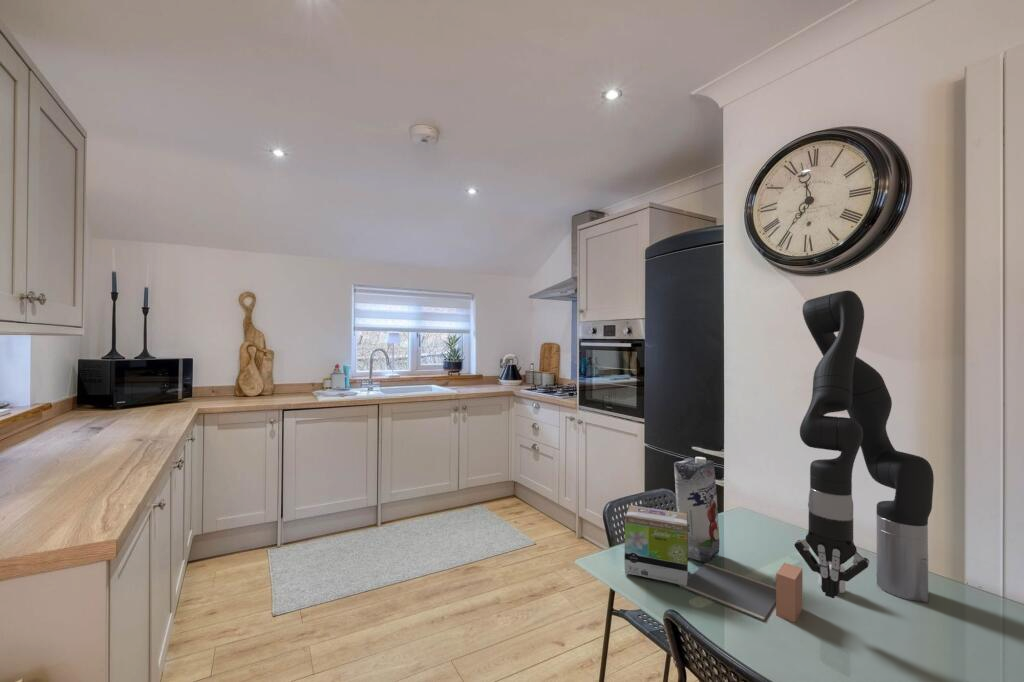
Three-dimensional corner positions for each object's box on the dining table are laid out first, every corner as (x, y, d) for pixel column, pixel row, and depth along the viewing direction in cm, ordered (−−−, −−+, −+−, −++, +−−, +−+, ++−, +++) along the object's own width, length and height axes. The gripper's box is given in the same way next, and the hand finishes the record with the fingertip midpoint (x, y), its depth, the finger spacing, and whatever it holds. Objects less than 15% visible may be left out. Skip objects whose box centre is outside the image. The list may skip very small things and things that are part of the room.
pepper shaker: (846, 594, 101) (846, 553, 102) (830, 594, 101) (830, 554, 101) (832, 584, 105) (832, 546, 106) (817, 585, 105) (817, 546, 105)
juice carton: (675, 555, 119) (669, 457, 121) (692, 544, 126) (686, 452, 128) (707, 565, 113) (700, 461, 115) (723, 553, 120) (717, 455, 122)
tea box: (623, 575, 108) (623, 515, 109) (628, 558, 117) (628, 503, 118) (688, 587, 102) (687, 524, 103) (687, 569, 111) (687, 511, 112)
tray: (782, 592, 102) (782, 589, 102) (763, 621, 91) (763, 619, 91) (705, 564, 115) (705, 562, 115) (679, 587, 103) (679, 585, 103)
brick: (802, 608, 95) (802, 568, 96) (795, 622, 90) (795, 579, 91) (784, 602, 98) (784, 562, 98) (776, 615, 93) (776, 573, 93)
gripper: (873, 516, 87) (873, 602, 87) (797, 499, 97) (797, 577, 96) (869, 526, 82) (869, 617, 82) (789, 507, 91) (788, 589, 91)
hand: (830, 595), depth 89 cm, fingers closed
